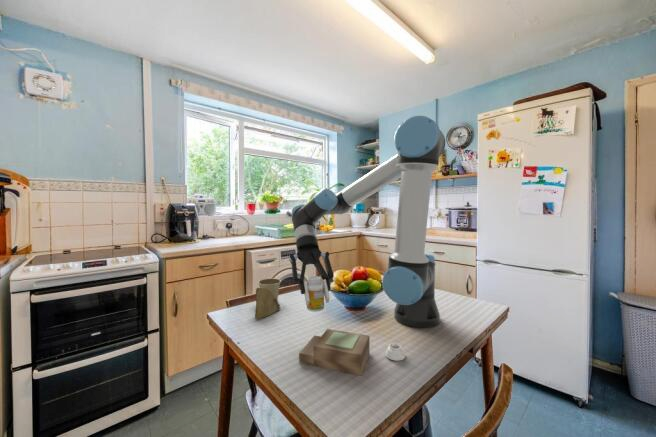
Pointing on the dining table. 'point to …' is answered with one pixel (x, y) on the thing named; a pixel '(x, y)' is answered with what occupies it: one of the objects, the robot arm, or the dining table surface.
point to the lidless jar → (395, 352)
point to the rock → (265, 303)
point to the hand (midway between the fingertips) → (318, 301)
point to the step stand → (337, 351)
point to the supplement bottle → (315, 294)
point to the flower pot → (271, 285)
